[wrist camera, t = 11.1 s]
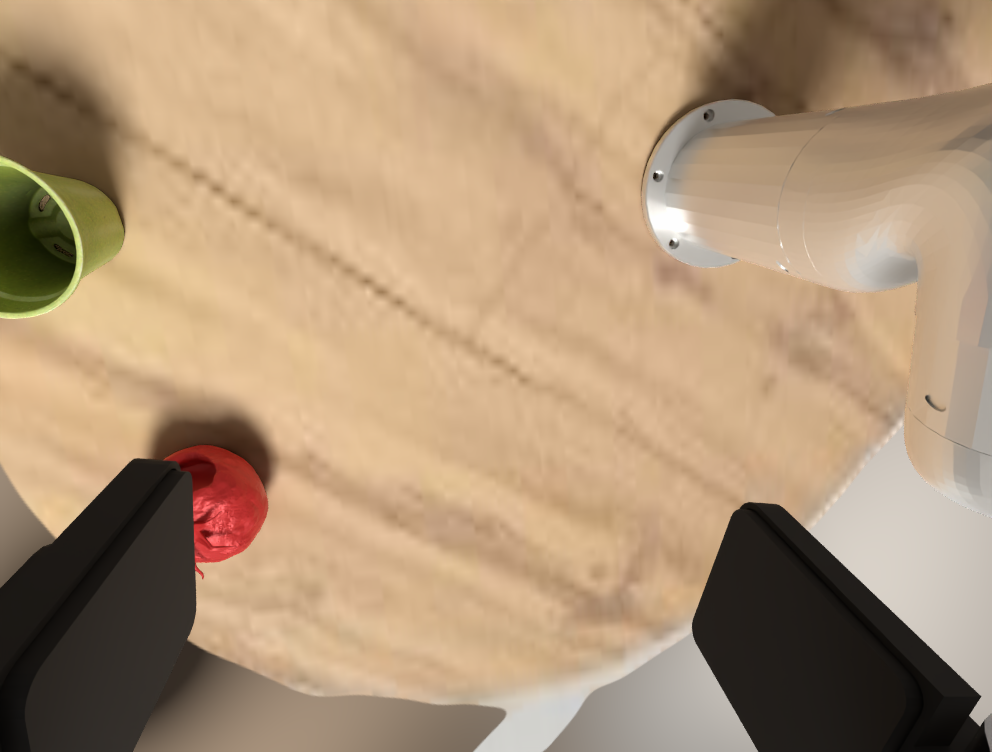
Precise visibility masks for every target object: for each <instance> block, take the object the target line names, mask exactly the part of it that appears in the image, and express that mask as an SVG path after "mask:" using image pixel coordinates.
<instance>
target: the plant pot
mask: <svg viewBox="0 0 992 752" xmlns="http://www.w3.org/2000/svg"><path fill="white" fill-rule="evenodd" d="M45 195H49V196H50V199H49V201H48V202H47V203H46V205H45V207H44V210H43V211H42V212H40V211H39V202H40V201H41V199H42V198H43V197H44V196H45ZM123 240H124V228H123V225H122V222H121V219H120V217H119V214H118V211H117V208H116V206H115V205H114V204H113V202H112V201H111V200H110V199H109V198H108V197H107V196H106V195H105V194H104V193H103V192H102V191H100V190H99V189H97V188H96V187H94V186H92V185H90V184H88V183H86V182H83V181H80V180H76V179H71V178H66V177H61V176H56V175H51V174H46V173H41V172H36V171H31V170H30V169H28V168H27V167H25V166H23V165H21V164H20V163H18V162H16V161H14V160H11V159H9V158H7V157H4V156H1V155H0V318H11V319H17V318H28V317H34V316H38V315H41V314H44V313H47V312H49V311H51V310H53V309H55V308H56V307H58V306H60V305H61V304H62V303H64V302H65V301H66V300H67V299H68V298H69V297H70V296H71V295H72V294H73V292H74V291H75V290H76V288H77V286H78V284H79V282H80V280H81V279H82V278H83V277H85V276H86V275H88V274H89V273H91V272H93V271H94V270H96V269H97V268H99V267H101V266H102V265H104V264H106V263H107V262H109V261H110V260H111V259H113V258H114V257H115V256H116V255H117V253H118V252H119V251H120V249H121V247H122V244H123ZM54 244H57V245H59V246H60V247H61V248H62V249H63V250H65V251H67V252H69V253H71V254H73V256H71V257H69V256H66V255H65V254H63V253H61V252H59V251H58V250H57V249H56V248H55V247H54Z"/></svg>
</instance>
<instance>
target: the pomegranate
mask: <svg viewBox="0 0 992 752" xmlns="http://www.w3.org/2000/svg"><path fill="white" fill-rule="evenodd" d="M164 460H168V461H176V462H178V463H179V466H180V469H181V471H189V472H190V473H191V475H192V483H193V515H194V547H195V571H197V572H198V573H199V574H200V575H201V576H202V579H203V578H204V575H203V573H202V572H201V571H200V570H199V569H198V567H197V566H196V562H200V563H201V562H205V563H208V562H220V561H223V560H226V559H228V558H230V557H232V556H234V555H236V554H239V553H240V552H242V551H244V550H245V549H246V548H247V547H248V546H249V545H250V544H251V542H252V541H253V540H254V538H255V536H256V535H257V533H258V532H259V531H260V529H261V527H262V525H263V523H264V520H265V518H266V515H267V511H268V499H267V495H266V492H265V489H264V486H263V484H262V482H261V480H260V478H259V476H258V475H257V473H256V472H255V470H254V469H253V467H252V466H251V465H250V464H249V463H248V462H247V461H246V460H244V459H243V458H241V457H239V456H238V455H236V454H234V453H232V452H230V451H228V450H226V449H222V448H219V447H216V446H212V445H198V446H193V447H190V448H186V449H183V450H179V451H177V452H175V453H173V454H171V455H170V456H168V457H166V458H165V459H164Z"/></svg>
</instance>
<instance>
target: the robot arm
mask: <svg viewBox="0 0 992 752" xmlns="http://www.w3.org/2000/svg"><path fill="white" fill-rule="evenodd" d="M704 113H705V114H706V118H705V120H704ZM654 173H656V178H655V179H653V174H654ZM641 195H642V210H643V214H644V218H645V222H646V225H647V227H648V229H649V232H650V234H651V236H652V238H653V239H654V240H655V241H656V243H657V244H658V245H659V247H660V248H661V249H662V250H663V251H665V252H666V253H667V254H668V255H669V256H671V257H673V258H675V259H676V260H678V261H680V262H682V263H685V264H688V265H691V266H695V267H701V268H718V267H723V266H727V265H731V264H734V263H736V262H739V261H741V260H742V261H745V262H749V263H752V264H755V265H758V266H761V267H765V268H768V269H771V270H774V271H778V272H781V273H784V274H787V275H790V276H794V277H797V278H800V279H803V280H807V281H810V282H813V283H816V284H819V285H822V286H826V287H829V288H832V289H836V290H840V291H845V292H852V293H874V292H881V291H887V290H892V289H897V288H900V287H904V286H906V285H909V284H912V283H915V282H918V286H917V296H916V305H915V315H916V323H915V331H914V339H913V347H912V356H911V364H910V372H909V381H908V389H907V399H906V407H905V421H904V438H905V444H906V449H907V453H908V456H909V458H910V460H911V462H912V465H913V466H914V468H915V469H916V471H917V472H918V473H919V475H920V476H921V477H922V478H923V479H924V480H925V481H926V482H927V483H928V484H929V485H930V486H932V487H933V488H934V489H936V490H937V491H938V492H939V493H941V494H942V495H944V496H945V497H947V498H949V499H951V500H952V501H954V502H956V503H958V504H960V505H962V506H964V507H966V508H969V509H970V510H973V511H975V512H977V513H980V514H982V515H985V516H988V517H991V518H992V83H989V84H985V85H981V86H977V87H973V88H968V89H964V90H960V91H955V92H949V93H943V94H938V95H932V96H926V97H920V98H914V99H908V100H901V101H893V102H885V103H877V104H870V105H862V106H854V107H846V108H838V109H830V110H821V111H813V112H805V113H797V114H789V115H781V116H776V115H775V114H774V113H773V112H771V111H770V110H768V109H767V108H765V107H764V106H762V105H759V104H757V103H754V102H751V101H748V100H738V99H729V100H721V101H715V102H711V103H708V104H704V105H702V106H700V107H698V108H696V109H693V110H691V111H690V112H688V113H687V114H685V115H684V116H683V117H681V118H680V119H678V120H677V121H676V122H675V123H674V124H673V125H672V126H671V127H670V128H669V129H668V130H667V131H666V132H665V133H664V135H663V136H662V138H661V139H660V141H659V142H658V143H657V145H656V146H655V148H654V150H653V152H652V155H651V157H650V159H649V161H648V163H647V167H646V170H645V174H644V177H643V185H642V194H641ZM670 240H672V244H671V245H669V242H670ZM195 614H196V580H195V547H194V515H193V483H192V475H191V473H190V472H189V471H181V469H180V466H179V463H178V462H176V461H168V460H154V459H140V458H137V459H133V460H132V461H131V462H129V463H128V464H127V466H126V467H125V468H124V469H123V470H122V471H121V472H120V473H119V474H118V475H117V476H116V477H115V478H114V479H113V480H112V481H111V482H110V483H109V484H108V485H107V486H106V488H105V489H104V490H103V491H102V492H101V493H100V494H99V495H98V496H97V497H96V498H95V499H94V500H93V501H92V502H91V503H90V504H89V505H88V506H87V507H86V508H85V509H84V511H83V512H82V513H81V514H80V515H79V516H78V517H77V518H76V519H75V520H74V521H73V522H72V523H71V524H70V525H69V526H68V527H67V528H66V529H65V530H64V531H63V533H62V534H61V535H60V536H59V537H58V538H57V539H56V540H55V541H54V542H53V543H52V544H49V545H47V546H44V547H42V548H41V549H40V550H38V551H37V552H36V553H35V554H33V555H32V556H31V557H30V558H29V559H28V560H27V562H26V563H25V564H24V565H23V566H22V567H21V568H20V569H19V570H18V571H17V572H16V573H15V574H14V575H13V576H12V577H11V578H10V579H9V580H8V581H7V582H6V583H5V584H4V585H3V586H2V587H1V588H0V752H133V750H134V748H135V746H136V744H137V742H138V740H139V738H140V736H141V733H142V731H143V729H144V727H145V725H146V723H147V721H148V719H149V717H150V715H151V713H152V711H153V709H154V707H155V704H156V702H157V700H158V698H159V696H160V694H161V692H162V690H163V688H164V686H165V684H166V682H167V680H168V678H169V675H170V673H171V671H172V669H173V667H174V665H175V663H176V661H177V659H178V657H179V655H180V653H181V651H182V649H183V647H184V644H185V642H186V640H187V638H188V636H189V634H190V632H191V629H192V626H193V623H194V619H195ZM692 632H693V637H694V640H695V642H696V644H697V646H698V648H699V649H700V651H701V653H702V654H703V656H704V658H705V660H706V661H707V663H708V665H709V666H710V668H711V670H712V672H713V674H714V675H715V677H716V679H717V681H718V682H719V684H720V686H721V687H722V689H723V691H724V693H725V694H726V696H727V698H728V700H729V701H730V703H731V705H732V707H733V708H734V710H735V711H736V714H737V715H738V717H739V719H740V721H741V722H742V724H743V726H744V728H745V729H746V731H747V733H748V734H749V736H750V738H751V740H752V742H753V743H754V745H755V747H756V748H757V750H758V752H992V714H990V715H989V716H988V717H987V718H986V719H985V720H984V722H983V723H982V725H981V726H979V725H978V724H977V723H976V722H974V720H973V719H972V718H971V717H970V716H969V714H970V713H971V712H972V710H973V708H974V707H975V705H976V704H977V702H978V701H979V699H980V698H981V696H980V695H979V694H978V693H977V692H976V691H975V690H974V689H973V688H972V687H971V686H970V685H968V683H967V682H965V681H964V680H963V679H962V678H961V677H960V676H959V675H958V674H957V673H956V672H955V671H954V670H953V669H952V668H951V667H950V666H949V665H948V664H947V663H946V662H944V661H943V660H942V659H941V658H940V657H939V656H938V655H937V654H936V653H935V652H934V651H933V650H932V649H931V648H930V647H929V646H927V644H926V643H925V642H924V641H922V640H921V639H920V638H919V637H918V636H917V635H916V634H915V633H914V632H913V631H912V630H911V629H910V628H909V627H908V626H907V625H906V624H905V623H904V622H903V621H902V620H900V619H899V618H898V617H897V616H896V615H895V614H894V613H893V612H892V611H891V610H890V609H889V608H888V607H887V606H886V605H885V604H884V603H883V602H882V601H881V600H879V599H878V598H877V597H876V596H875V595H874V594H873V593H872V592H871V591H870V590H869V589H868V588H867V587H866V586H865V585H864V584H863V583H862V582H861V581H860V580H858V579H857V578H856V577H855V576H854V575H853V574H852V573H851V572H850V571H849V570H848V569H847V568H846V567H845V566H844V565H843V564H842V563H841V562H839V560H838V559H836V558H835V557H834V556H833V555H832V554H831V553H830V552H829V551H828V550H827V549H826V548H825V547H824V546H823V545H822V544H821V543H820V542H819V541H818V540H817V539H815V538H814V537H813V536H812V535H811V534H810V533H809V532H808V531H807V530H806V529H805V528H804V527H803V526H802V525H801V524H800V523H799V522H798V521H797V520H796V519H795V518H793V517H792V516H791V515H790V514H789V513H788V512H787V511H786V510H785V509H784V508H783V507H781V506H780V505H777V504H767V503H753V502H748V503H745V504H743V505H742V506H741V507H740V509H739V510H736V511H735V512H734V513H733V514H732V516H731V519H730V521H729V524H728V527H727V529H726V532H725V535H724V538H723V540H722V543H721V546H720V548H719V551H718V554H717V556H716V559H715V562H714V564H713V567H712V570H711V573H710V575H709V578H708V581H707V583H706V586H705V589H704V591H703V594H702V597H701V599H700V602H699V605H698V608H697V610H696V613H695V616H694V618H693V622H692Z"/></svg>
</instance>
